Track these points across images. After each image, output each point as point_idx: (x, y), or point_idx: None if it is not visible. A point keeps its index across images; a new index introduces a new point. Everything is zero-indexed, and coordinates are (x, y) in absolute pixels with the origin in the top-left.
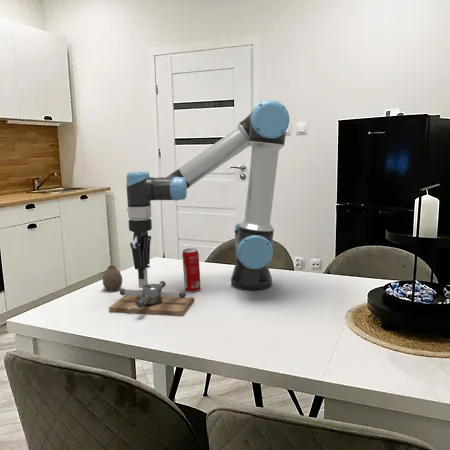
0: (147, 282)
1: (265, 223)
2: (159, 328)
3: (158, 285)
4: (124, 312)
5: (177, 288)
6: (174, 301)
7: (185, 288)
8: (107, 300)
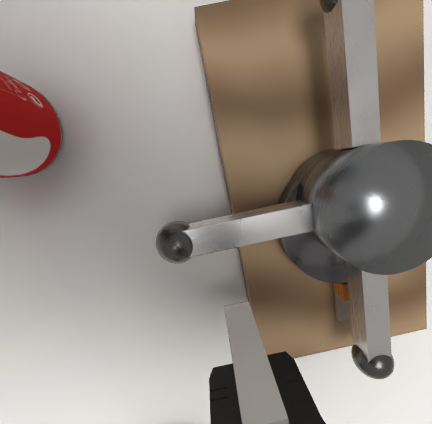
0: (230, 323)
1: None
2: None
3: (363, 179)
4: None
5: (36, 223)
6: (290, 92)
7: (49, 156)
8: None
